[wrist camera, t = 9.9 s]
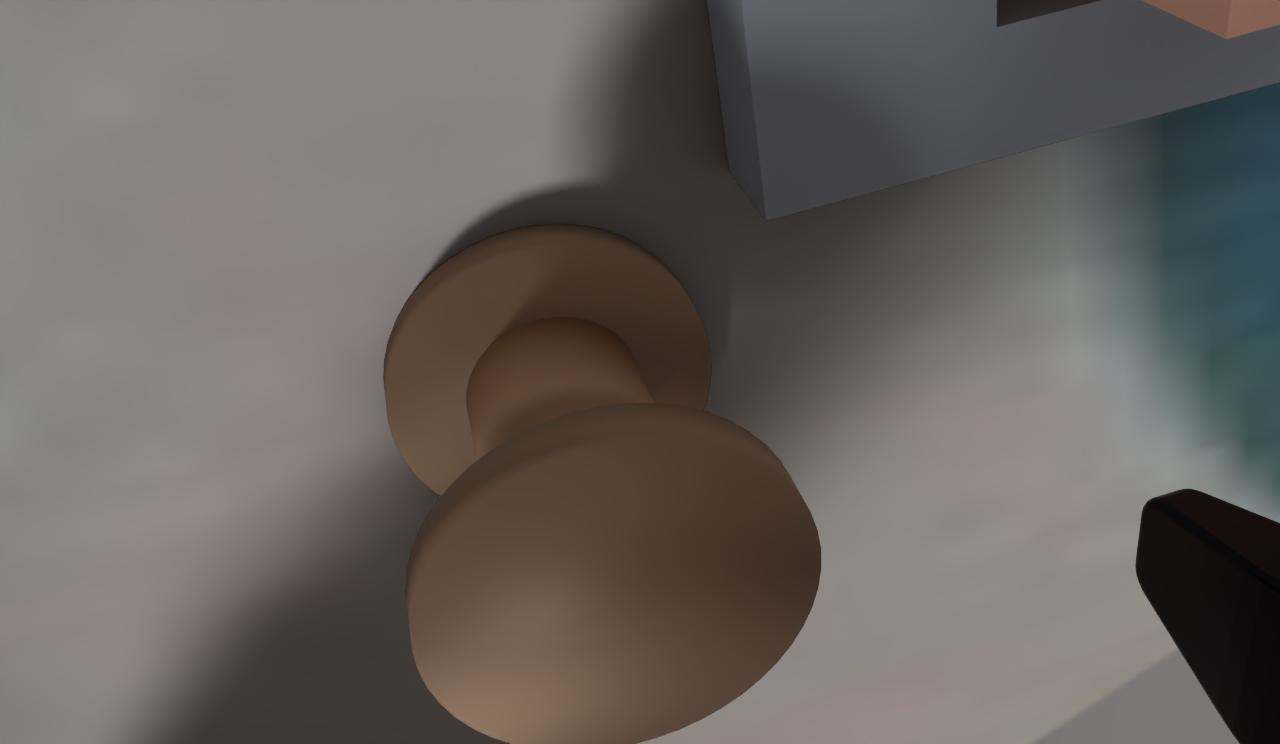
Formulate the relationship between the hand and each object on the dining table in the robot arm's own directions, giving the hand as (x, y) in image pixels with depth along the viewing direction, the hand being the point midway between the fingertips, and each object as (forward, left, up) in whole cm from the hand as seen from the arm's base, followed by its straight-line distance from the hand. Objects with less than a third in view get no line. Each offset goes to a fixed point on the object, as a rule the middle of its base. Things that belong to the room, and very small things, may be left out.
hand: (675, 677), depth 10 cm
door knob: (-4, 0, -11) cm, 12 cm away
